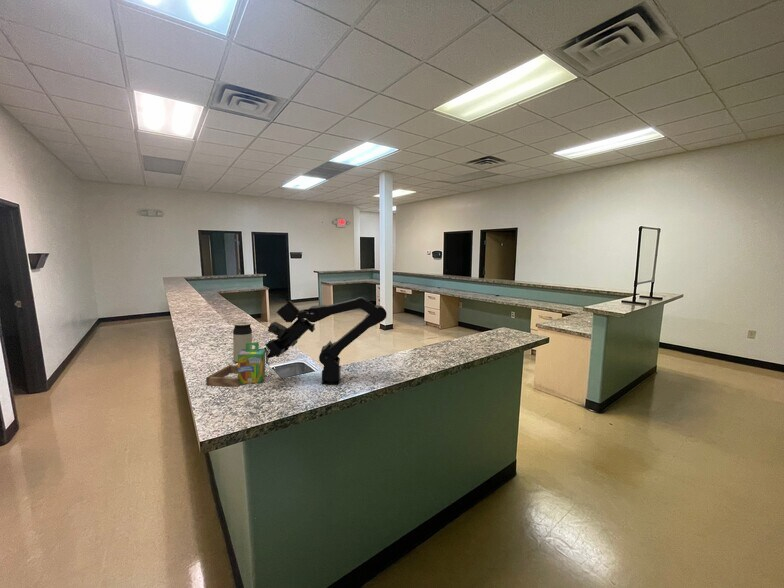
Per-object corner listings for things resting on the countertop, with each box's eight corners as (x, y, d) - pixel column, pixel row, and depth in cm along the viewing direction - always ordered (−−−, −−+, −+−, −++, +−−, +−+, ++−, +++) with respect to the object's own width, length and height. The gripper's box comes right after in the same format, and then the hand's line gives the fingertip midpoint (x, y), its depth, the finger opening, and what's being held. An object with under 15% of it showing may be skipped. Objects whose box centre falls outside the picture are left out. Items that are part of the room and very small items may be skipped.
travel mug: (244, 363, 145) (244, 325, 144) (229, 362, 147) (229, 323, 145) (255, 358, 153) (255, 322, 151) (241, 357, 154) (240, 321, 153)
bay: (257, 373, 133) (257, 366, 133) (238, 387, 118) (238, 379, 117) (229, 371, 133) (229, 365, 133) (206, 385, 118) (206, 377, 118)
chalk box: (237, 385, 119) (236, 346, 118) (241, 376, 128) (241, 341, 127) (263, 383, 122) (263, 345, 121) (265, 375, 131) (265, 340, 130)
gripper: (290, 312, 132) (264, 337, 133) (271, 319, 113) (241, 348, 114) (308, 331, 132) (282, 356, 133) (292, 342, 113) (262, 370, 115)
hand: (268, 357), depth 124 cm, fingers closed
